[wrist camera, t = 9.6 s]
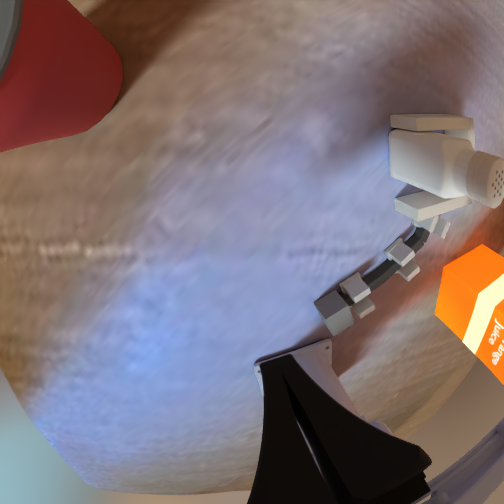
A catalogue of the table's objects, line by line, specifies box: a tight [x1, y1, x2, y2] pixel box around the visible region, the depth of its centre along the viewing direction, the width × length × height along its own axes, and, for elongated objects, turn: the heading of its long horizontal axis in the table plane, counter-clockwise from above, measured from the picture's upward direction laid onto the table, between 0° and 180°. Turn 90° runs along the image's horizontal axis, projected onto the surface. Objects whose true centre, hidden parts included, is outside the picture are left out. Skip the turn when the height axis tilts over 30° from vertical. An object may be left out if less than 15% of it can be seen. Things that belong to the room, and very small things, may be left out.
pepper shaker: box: [389, 129, 504, 208], centre depth 15 cm, size 4×4×10 cm
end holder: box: [390, 114, 474, 222], centre depth 19 cm, size 8×8×3 cm
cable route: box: [314, 227, 430, 337], centre depth 23 cm, size 3×16×2 cm, turn 129°
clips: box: [339, 215, 451, 318], centre depth 23 cm, size 4×13×2 cm, turn 132°
